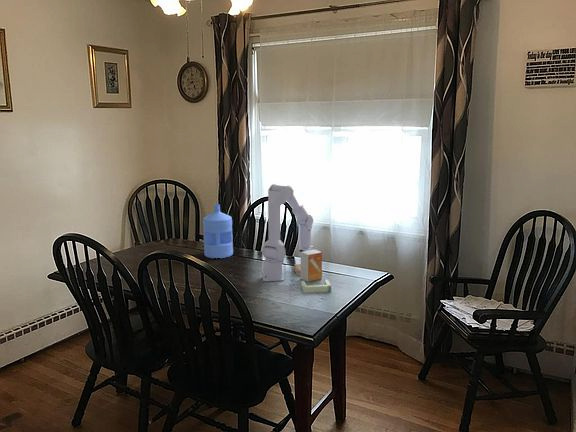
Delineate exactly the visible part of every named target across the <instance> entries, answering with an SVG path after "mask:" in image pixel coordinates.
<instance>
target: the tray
mask: <svg viewBox="0 0 576 432" xmlns="http://www.w3.org/2000/svg"><path fill="white" fill-rule="evenodd" d="M300 285H301V286H300V287H301V289H302V292H303V293H304V294H306V293H323V292H325V293H326V292H327V293H328V292H332V285H331V282H330V281H329V279H324V283H323V284H316V285H308V284H306V281H305V280H301V283H300Z"/></svg>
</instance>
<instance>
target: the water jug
mask: <svg viewBox="0 0 576 432" xmlns="http://www.w3.org/2000/svg"><path fill="white" fill-rule="evenodd" d="M213 206H214V207H213V210H214V211H213V212H212V213H210V214H208V215H206V216H204V217H203V219H202V226H203V244H204V248H203V249H204V251H203V253H204V256H205V257H206V258H208V259H214V258H216V260H217V258H220V259H225V258H226V257H227V258H230V257H231V256H233V254H234V247H233V245H234V242H233V240H234V239H233V219H232V218H233V217H232V216H231V215H228V214H226V213H224V212H221V207H220V206H221V205H220V204H219V203H218V204H217V203H216V204H215V203H214V204H213Z"/></svg>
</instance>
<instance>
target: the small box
mask: <svg viewBox="0 0 576 432" xmlns="http://www.w3.org/2000/svg"><path fill="white" fill-rule="evenodd" d="M300 264H301V276H300V279H302V281H305V282H313V281H317V280H322V279H323V252H322V251H320V250H317V249H314V248H313V249H310V250H308V251H303V252H301V253H300Z"/></svg>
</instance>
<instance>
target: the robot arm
mask: <svg viewBox="0 0 576 432" xmlns="http://www.w3.org/2000/svg"><path fill="white" fill-rule="evenodd" d="M294 190H295V189H293V187H292V186H291V185H286V184H276V183H273V184H271V185H270V187H269V188H268V190H267V196H268V201H267V202H268V203H267V223H268V224H267V225H268V227H267V228H268V230H267V231H268V239H267V240H266V241H265V242H264V243H263V248H262V255H263V256H262V257H264V260H262V261H261V268H262V269H261V277H262V281H263V282H280V281H281V282H283V281H284V276H283V261H284V259H285V258H286V254H287V253H286V248H285V243H284V242H283V241H282V240H281V206H282V205H283V204H285V203H286V202H287V204H289V206H290V207H291V208H292V209H291V211H292V213H293V214H294V216H295V219H296V224H297V225H299V235H298V236H299V238H298V239H299V244H298V248H299V250H298V251H299V252H300V254H301V252H303V251H308V250H312V249H314V245H311V244H312V228H313V223H314V218H313V216H312V215H310V214H308V212H307V211H306V208H305V207H304V205H303V204H301V203H299V202H298V200H297V199H296V196H295V195H294V192H295V191H294Z"/></svg>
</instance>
